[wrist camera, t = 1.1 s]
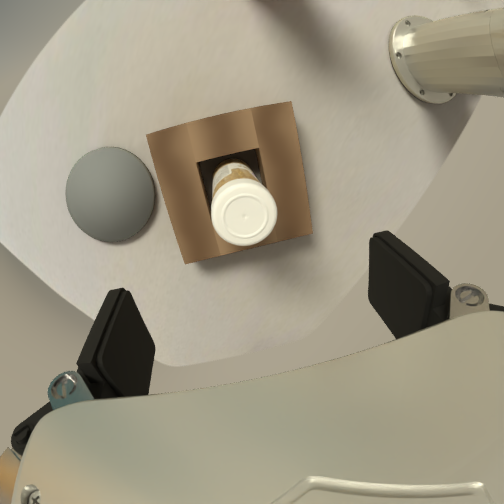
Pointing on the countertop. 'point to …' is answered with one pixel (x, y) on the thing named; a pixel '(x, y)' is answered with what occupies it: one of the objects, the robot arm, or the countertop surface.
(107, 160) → the slate coaster
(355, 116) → the countertop surface
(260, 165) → the walnut pocket block
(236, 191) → the sprinkles bottle
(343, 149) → the countertop surface
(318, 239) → the countertop surface
